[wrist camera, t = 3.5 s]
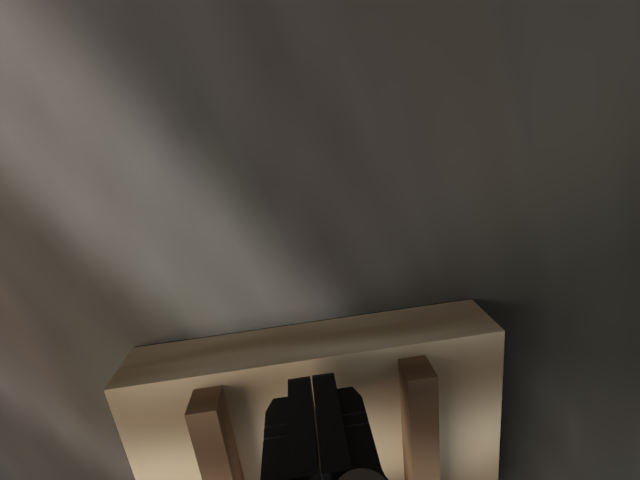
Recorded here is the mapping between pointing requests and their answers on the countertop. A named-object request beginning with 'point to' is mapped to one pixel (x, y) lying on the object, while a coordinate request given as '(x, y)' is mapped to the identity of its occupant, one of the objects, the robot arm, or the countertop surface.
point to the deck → (306, 360)
